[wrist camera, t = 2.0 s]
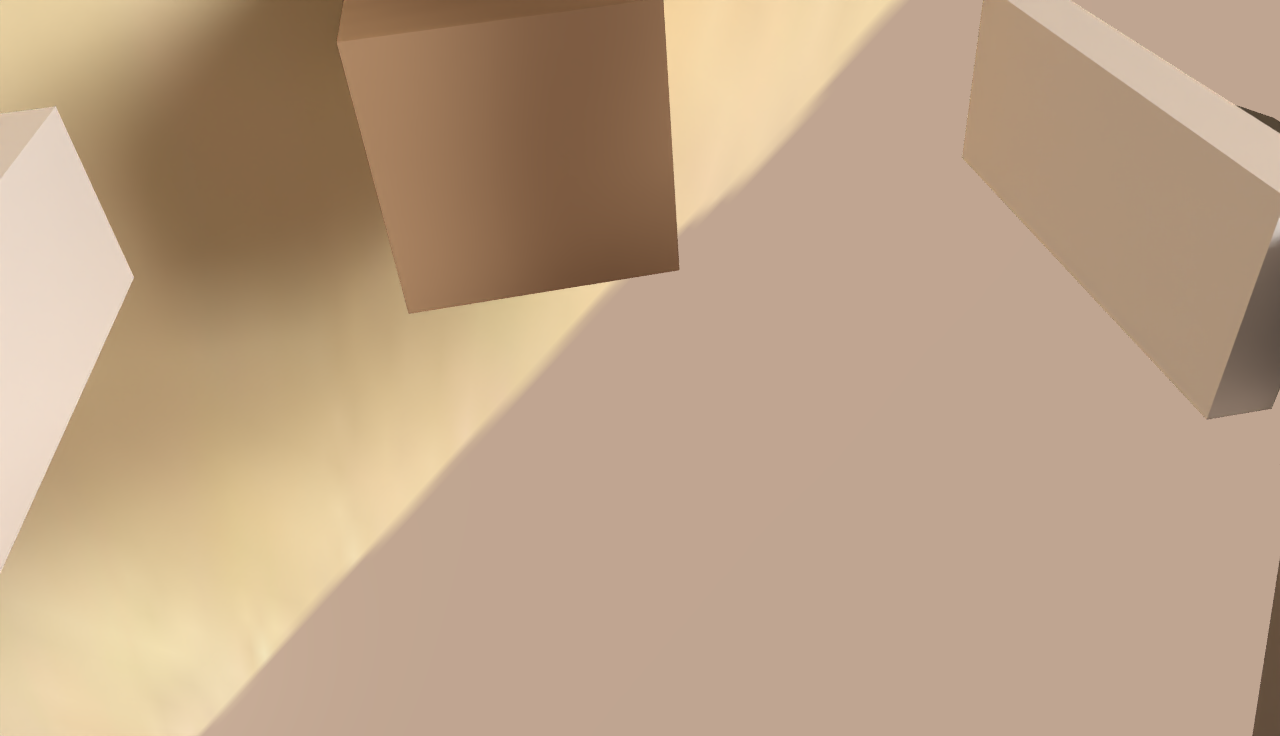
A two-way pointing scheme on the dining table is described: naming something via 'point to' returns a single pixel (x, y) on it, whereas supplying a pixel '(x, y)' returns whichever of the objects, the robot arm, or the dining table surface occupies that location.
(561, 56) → the peg
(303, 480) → the dining table surface
